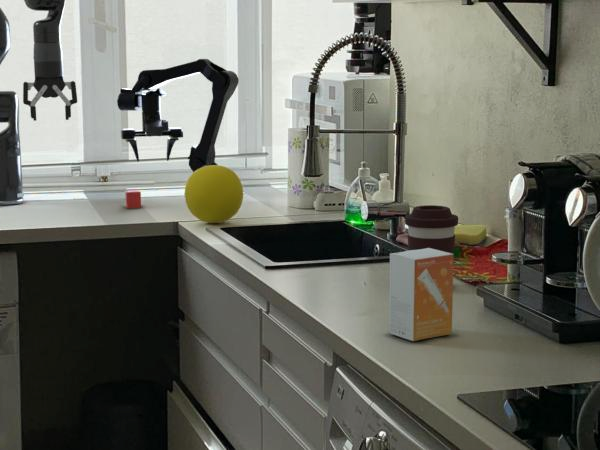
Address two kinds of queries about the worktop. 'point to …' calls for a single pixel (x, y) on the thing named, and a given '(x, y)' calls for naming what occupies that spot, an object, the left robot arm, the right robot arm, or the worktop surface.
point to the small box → (421, 294)
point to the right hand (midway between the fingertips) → (152, 161)
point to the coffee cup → (431, 228)
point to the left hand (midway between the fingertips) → (51, 120)
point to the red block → (133, 198)
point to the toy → (213, 193)
